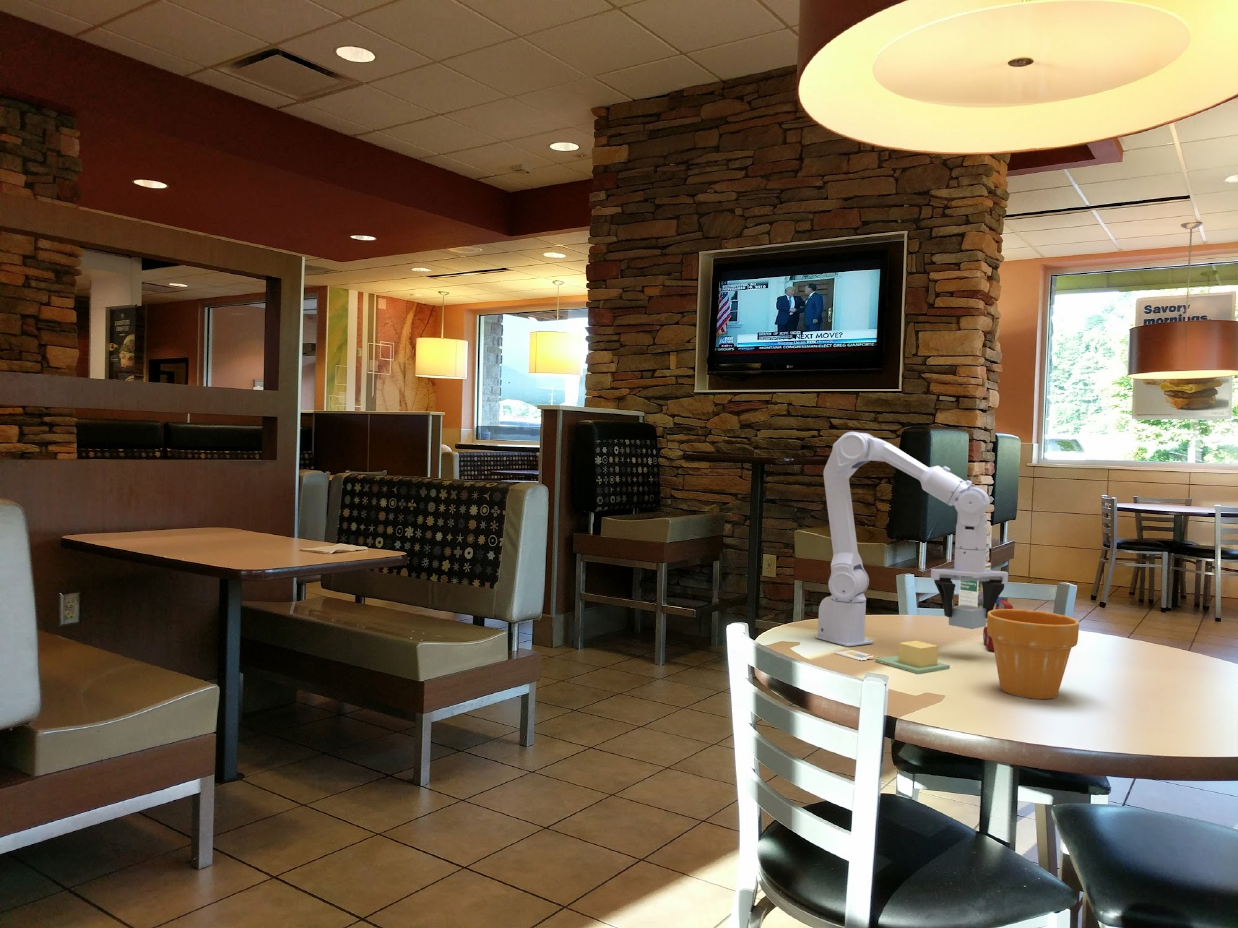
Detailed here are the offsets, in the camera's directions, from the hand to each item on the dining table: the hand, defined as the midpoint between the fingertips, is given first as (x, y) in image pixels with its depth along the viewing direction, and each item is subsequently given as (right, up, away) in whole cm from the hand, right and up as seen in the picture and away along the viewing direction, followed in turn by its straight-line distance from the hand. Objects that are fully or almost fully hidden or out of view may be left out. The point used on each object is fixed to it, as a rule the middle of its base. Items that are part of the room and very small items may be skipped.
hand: (967, 617), depth 176 cm
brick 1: (-12, -7, -8) cm, 16 cm away
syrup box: (+17, -8, +40) cm, 44 cm away
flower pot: (+1, -9, -24) cm, 26 cm away
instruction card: (-22, -7, -1) cm, 23 cm away
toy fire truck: (+11, -9, +10) cm, 17 cm away
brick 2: (0, -2, 0) cm, 2 cm away
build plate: (-13, -8, -7) cm, 17 cm away
